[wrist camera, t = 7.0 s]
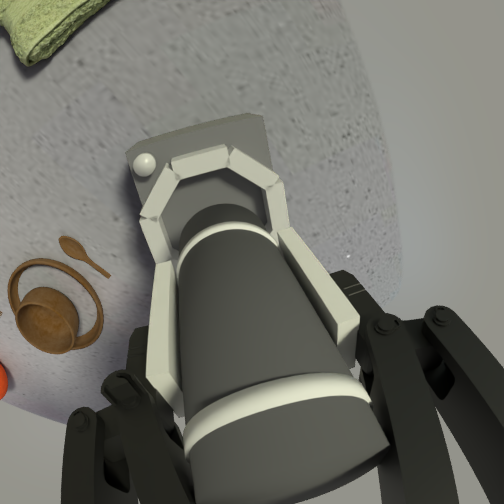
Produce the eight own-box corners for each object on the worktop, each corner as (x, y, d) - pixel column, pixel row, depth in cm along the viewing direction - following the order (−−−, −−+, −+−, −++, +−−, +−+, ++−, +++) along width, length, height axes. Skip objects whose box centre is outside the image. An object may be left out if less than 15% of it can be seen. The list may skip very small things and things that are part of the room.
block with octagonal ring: (273, 241, 28) (296, 278, 22) (177, 267, 27) (177, 312, 21) (249, 112, 21) (271, 116, 16) (135, 143, 21) (117, 157, 15)
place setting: (66, 362, 30) (57, 398, 25) (-46, 270, 21) (-68, 298, 16) (141, 288, 28) (135, 328, 23) (-1, 157, 18) (-37, 175, 13)
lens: (192, 293, 17) (225, 518, 6) (164, 216, 15) (151, 489, 4) (275, 270, 18) (376, 473, 7) (260, 190, 15) (420, 410, 4)
